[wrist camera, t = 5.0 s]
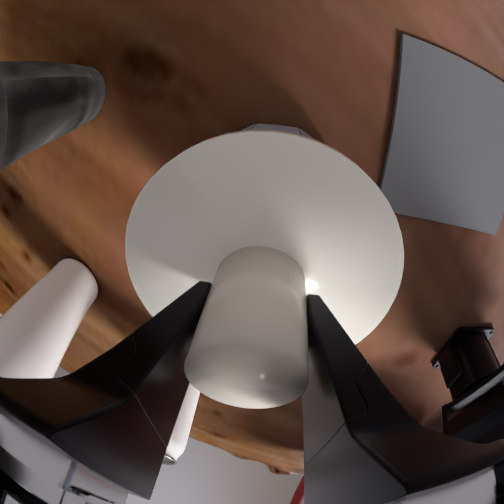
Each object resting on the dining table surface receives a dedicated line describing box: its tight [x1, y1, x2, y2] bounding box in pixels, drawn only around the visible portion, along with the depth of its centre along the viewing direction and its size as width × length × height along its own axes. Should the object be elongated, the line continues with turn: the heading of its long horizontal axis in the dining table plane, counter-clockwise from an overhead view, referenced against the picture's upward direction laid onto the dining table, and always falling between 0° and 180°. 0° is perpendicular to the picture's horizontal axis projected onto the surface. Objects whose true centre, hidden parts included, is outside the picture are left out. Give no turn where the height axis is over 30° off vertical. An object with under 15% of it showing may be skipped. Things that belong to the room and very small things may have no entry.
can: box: [162, 383, 200, 465], centre depth 24 cm, size 6×6×12 cm
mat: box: [379, 34, 504, 235], centre depth 14 cm, size 12×12×1 cm
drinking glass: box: [0, 258, 98, 378], centre depth 18 cm, size 7×7×15 cm
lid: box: [125, 130, 404, 409], centre depth 9 cm, size 10×10×5 cm
